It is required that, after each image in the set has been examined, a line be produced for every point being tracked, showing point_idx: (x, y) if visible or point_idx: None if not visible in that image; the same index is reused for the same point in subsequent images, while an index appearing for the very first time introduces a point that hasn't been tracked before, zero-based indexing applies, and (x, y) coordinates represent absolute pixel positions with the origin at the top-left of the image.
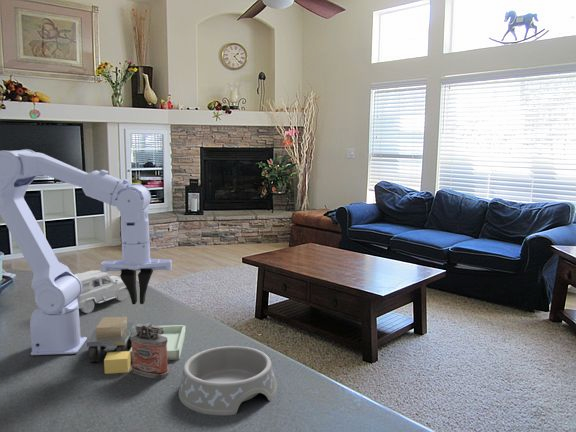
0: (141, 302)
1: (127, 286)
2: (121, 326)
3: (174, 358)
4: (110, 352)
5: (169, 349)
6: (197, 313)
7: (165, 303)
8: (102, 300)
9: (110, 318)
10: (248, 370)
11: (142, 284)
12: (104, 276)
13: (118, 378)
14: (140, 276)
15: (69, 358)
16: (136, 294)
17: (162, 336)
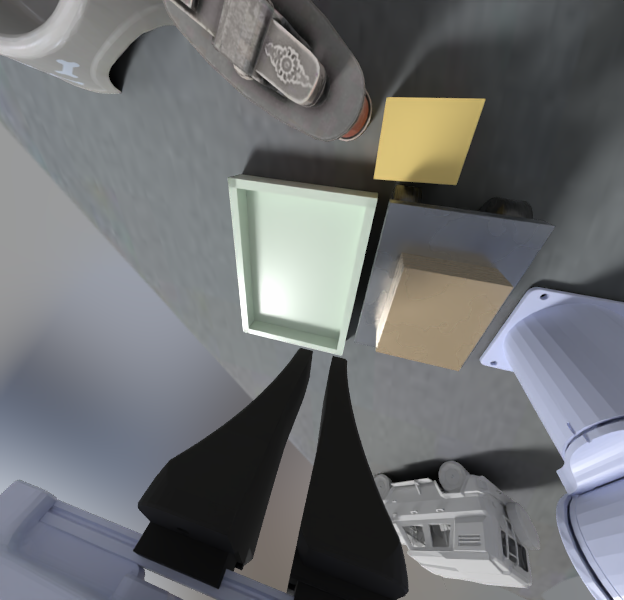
0: (303, 353)
1: (353, 449)
2: (399, 278)
3: (252, 176)
4: (445, 181)
5: (270, 231)
6: (245, 388)
7: (305, 439)
8: (420, 483)
9: (433, 354)
10: (19, 9)
11: (251, 429)
12: (418, 549)
13: (423, 46)
14: (217, 500)
15: (559, 263)
16: (322, 409)
17: (195, 40)
